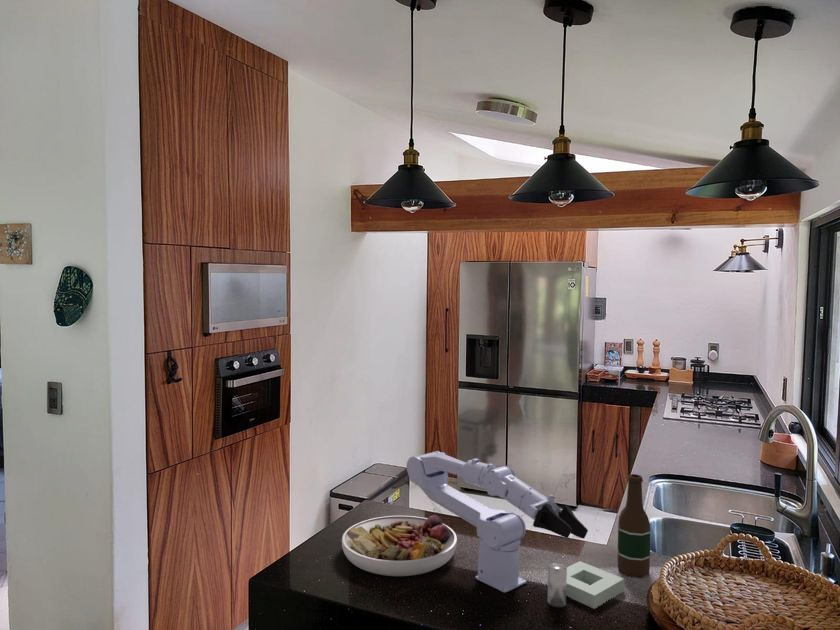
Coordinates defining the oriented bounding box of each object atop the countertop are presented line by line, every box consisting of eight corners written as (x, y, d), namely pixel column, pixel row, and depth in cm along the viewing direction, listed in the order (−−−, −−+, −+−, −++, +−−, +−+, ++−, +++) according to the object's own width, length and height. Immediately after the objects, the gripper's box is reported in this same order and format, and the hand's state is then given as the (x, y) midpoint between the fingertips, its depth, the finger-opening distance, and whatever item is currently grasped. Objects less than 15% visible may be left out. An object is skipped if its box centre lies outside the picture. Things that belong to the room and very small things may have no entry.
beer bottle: (653, 569, 153) (655, 474, 152) (645, 581, 146) (647, 482, 145) (621, 561, 157) (623, 469, 156) (612, 573, 151) (614, 476, 150)
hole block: (549, 588, 143) (549, 575, 142) (579, 573, 150) (579, 561, 150) (594, 608, 134) (594, 595, 133) (623, 591, 141) (624, 578, 141)
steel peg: (543, 602, 136) (544, 566, 136) (554, 596, 139) (555, 561, 139) (558, 609, 133) (559, 573, 133) (569, 603, 136) (570, 567, 136)
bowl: (389, 595, 140) (389, 561, 139) (319, 551, 162) (319, 522, 162) (480, 558, 159) (481, 528, 159) (407, 524, 182) (407, 498, 182)
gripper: (519, 481, 134) (570, 515, 125) (551, 487, 145) (600, 518, 135) (505, 510, 134) (555, 546, 125) (538, 514, 145) (586, 547, 135)
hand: (577, 533), depth 130 cm, fingers open, 7 cm apart
